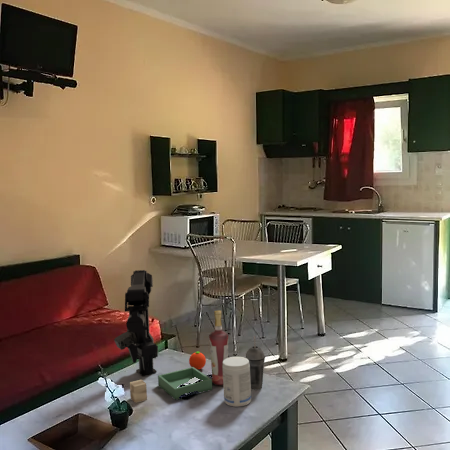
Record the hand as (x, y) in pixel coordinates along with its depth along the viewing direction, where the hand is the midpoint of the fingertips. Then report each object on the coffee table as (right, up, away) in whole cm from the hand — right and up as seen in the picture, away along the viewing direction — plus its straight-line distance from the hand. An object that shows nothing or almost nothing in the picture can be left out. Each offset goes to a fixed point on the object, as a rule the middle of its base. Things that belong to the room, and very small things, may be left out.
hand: (140, 366), depth 184 cm
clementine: (+19, -9, +28) cm, 35 cm away
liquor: (+29, -10, +13) cm, 33 cm away
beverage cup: (+42, -10, +8) cm, 44 cm away
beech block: (-1, -12, +1) cm, 12 cm away
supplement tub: (+35, -12, -3) cm, 37 cm away
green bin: (+15, -11, +9) cm, 21 cm away
